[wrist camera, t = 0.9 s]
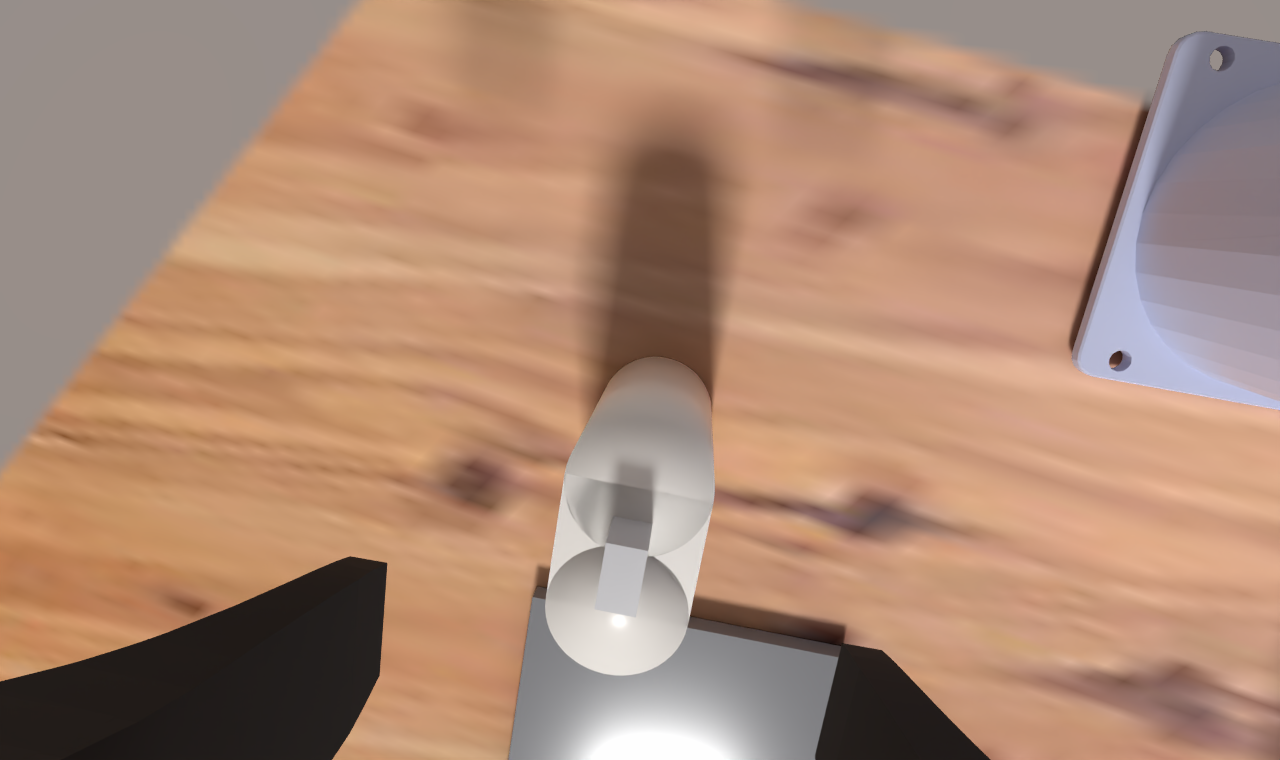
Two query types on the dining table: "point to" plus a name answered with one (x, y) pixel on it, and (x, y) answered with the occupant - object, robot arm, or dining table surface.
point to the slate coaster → (676, 699)
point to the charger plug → (633, 520)
